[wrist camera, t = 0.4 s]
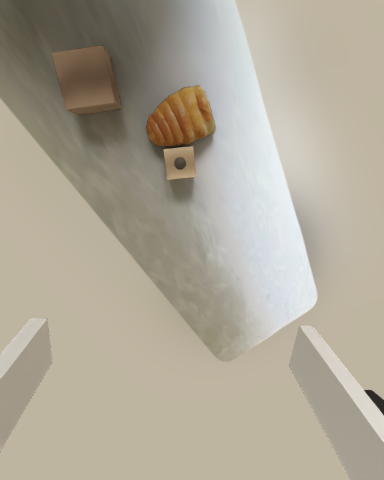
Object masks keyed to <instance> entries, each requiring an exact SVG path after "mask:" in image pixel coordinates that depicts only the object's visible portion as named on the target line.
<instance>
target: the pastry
mask: <svg viewBox="0 0 384 480" xmlns="http://www.w3.org/2000/svg"><path fill="white" fill-rule="evenodd" d="M215 129H216V126H215V121H214V119H213V116H212V111H211V108H210V104H209V101H208V100H207V97H206V94H205V91H204V90H203V89H202V88H201V87H200V86H198V85H197V86H195V87H185V88H182V89H181V90H179V91H178V92H176V93H174V94H172V95H170V96H168V98H167V99H165V100H164V101H163V102H162V103H161V104H160V105H159V106H158V107H157V109H156V110H155V111H154V112H153V113H152V114H151V115H150V116H149V118H148V121H147V126H146V130H147V133H148V136H149V139H150V141H151V142H152V143H154V144H156V145H158V146H160V147H162V146H178V145H183V144H185V145H190V144H191V143H192V142H194V141H196V140H199V139H202V138H204V137H206V136H207V135H210V134H213V133H214V132H215Z"/></svg>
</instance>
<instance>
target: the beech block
mask: <svg viewBox="0 0 384 480" xmlns="http://www.w3.org/2000/svg"><path fill="white" fill-rule="evenodd" d="M163 150H164V158H165V166H166V173H167V180H171V179H180V178H190V177H196V170H195V159H194V149H193V146H190V147H180V148H171V149H163Z"/></svg>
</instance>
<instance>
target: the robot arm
mask: <svg viewBox="0 0 384 480" xmlns="http://www.w3.org/2000/svg"><path fill="white" fill-rule="evenodd" d="M51 364H52V355H51V345H50V338H49V328H48V319H47V318H31V319H30V320H29V321H28V323H27V324H26V325H25V326H24V327H23V328H22V329H21V331H20V332H19V333H18V334H17V335H16V336H15V338H14V339H13V340H12V341H11V342H10V343H9V344H8V346H7V347H6V348H5V349H4V350H3V351H2V352H1V354H0V451H1V449H2V448H3V446H4V444H5V443H6V441H7V439H8V437H9V436H10V434H11V432H12V431H13V429H14V427H15V426H16V424H17V422H18V420H19V419H20V417H21V415H22V414H23V412H24V410H25V408H26V407H27V405H28V403H29V401H30V400H31V398H32V396H33V395H34V393H35V391H36V390H37V388H38V386H39V384H40V383H41V381H42V379H43V378H44V376H45V374H46V372H47V371H48V369H49V367H50V366H51ZM289 367H290V369H291V370H292V372H293V374H294V376H295V378H296V380H297V382H298V383H299V385H300V387H301V389H302V391H303V393H304V395H305V396H306V398H307V400H308V402H309V404H310V406H311V408H312V409H313V411H314V413H315V415H316V417H317V419H318V421H319V422H320V424H321V426H322V428H323V430H324V432H325V434H326V436H327V437H328V439H329V441H330V443H331V445H332V447H333V448H334V450H335V452H336V454H337V456H338V458H339V460H340V461H341V463H342V465H343V467H344V469H345V471H346V473H347V474H348V476H349V478H350V480H384V400H383V399H382V398H381V397H379V396H378V395H377V394H376V393H374V392H373V391H372V390H363V389H362V387H361V386H360V385H359V384H358V382H357V381H356V380H355V379H354V377H353V376H352V375H351V374H350V372H349V371H348V370H347V369H346V367H345V366H344V365H343V364H342V363H341V361H340V360H339V359H338V357H337V356H336V355H335V354H334V353H333V351H332V350H331V349H330V347H329V346H328V345H327V344H326V342H325V341H324V340H323V339H322V337H321V336H320V335H319V334H318V332H317V331H316V330H315V329H314V327H313V326H299V328H298V333H297V336H296V340H295V345H294V348H293V352H292V356H291V361H290V364H289Z"/></svg>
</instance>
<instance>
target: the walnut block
mask: <svg viewBox="0 0 384 480" xmlns="http://www.w3.org/2000/svg"><path fill="white" fill-rule="evenodd" d="M51 54H52V58H53V62H54V65H55V69H56V73H57V77H58V80H59V84H60V88H61V92H62V96H63V99H64V103H65V107H66V110H69V111H71V112H73V113H76V114H78V115H81V114H88V113H95V112H102V111H109V110H116V109H122V108H121V103H120V99H119V94H118V89H117V84H116V79H115V74H114V69H113V64H112V59H111V57H110V56H109V54H108V53H107V51H106V50H105V48H104V47H103V45H102V46H94V47H87V48H80V49H73V50H65V51H58V52H51Z"/></svg>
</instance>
